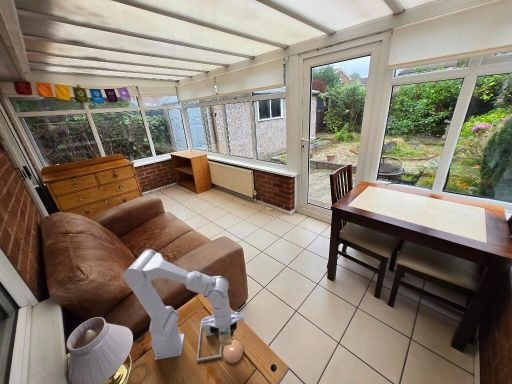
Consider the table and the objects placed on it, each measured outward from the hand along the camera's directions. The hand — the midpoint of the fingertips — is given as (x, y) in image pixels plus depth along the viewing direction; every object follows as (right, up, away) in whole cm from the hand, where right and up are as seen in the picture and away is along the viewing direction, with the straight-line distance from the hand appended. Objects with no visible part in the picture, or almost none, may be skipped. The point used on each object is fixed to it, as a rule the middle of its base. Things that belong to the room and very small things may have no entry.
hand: (225, 335), depth 75 cm
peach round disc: (+2, -9, +3) cm, 10 cm away
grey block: (-8, -6, +11) cm, 15 cm away
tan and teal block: (0, -2, +1) cm, 2 cm away
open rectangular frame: (-7, -7, +8) cm, 13 cm away
